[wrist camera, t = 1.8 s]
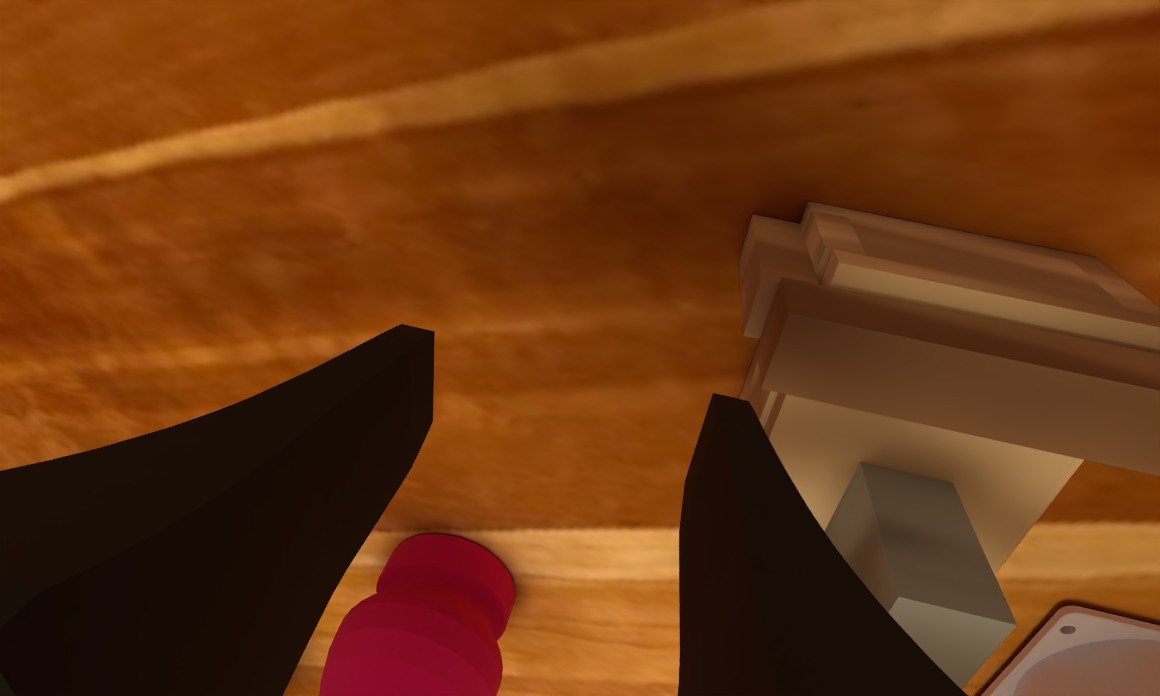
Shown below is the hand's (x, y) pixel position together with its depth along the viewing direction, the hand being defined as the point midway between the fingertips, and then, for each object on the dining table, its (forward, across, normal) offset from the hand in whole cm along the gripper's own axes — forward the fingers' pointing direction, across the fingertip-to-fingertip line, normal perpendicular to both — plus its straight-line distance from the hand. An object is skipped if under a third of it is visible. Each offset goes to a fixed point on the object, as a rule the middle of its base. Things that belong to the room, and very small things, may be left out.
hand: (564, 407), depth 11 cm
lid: (+6, -9, +4) cm, 12 cm away
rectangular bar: (+5, -9, 0) cm, 10 cm away
